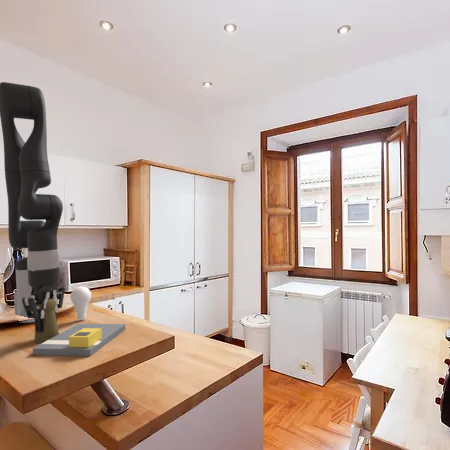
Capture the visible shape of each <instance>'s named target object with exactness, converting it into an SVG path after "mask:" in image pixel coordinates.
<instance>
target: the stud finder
mask: <svg viewBox="0 0 450 450" xmlns="http://www.w3.org/2000/svg"><path fill="white" fill-rule="evenodd" d="M101 338H102V328H83V329H81V330H80V331H78V332H76V333H74V334H73V335H71V336H69V347H88V348H89V347H90V346H91V345H93V344H94V343H96V342H97V341H98V340H100V339H101Z"/></svg>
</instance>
